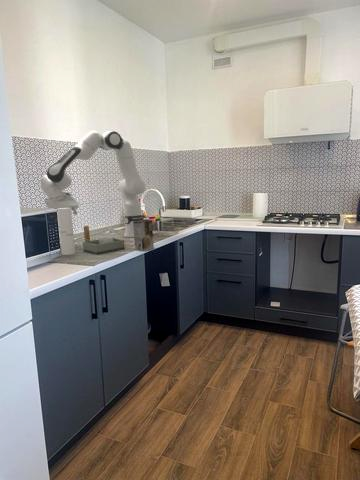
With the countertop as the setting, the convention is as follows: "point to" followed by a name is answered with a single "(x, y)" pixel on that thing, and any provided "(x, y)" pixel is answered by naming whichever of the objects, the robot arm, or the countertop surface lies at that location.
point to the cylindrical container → (66, 231)
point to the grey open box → (103, 245)
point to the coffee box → (143, 235)
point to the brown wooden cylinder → (86, 233)
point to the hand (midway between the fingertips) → (70, 214)
